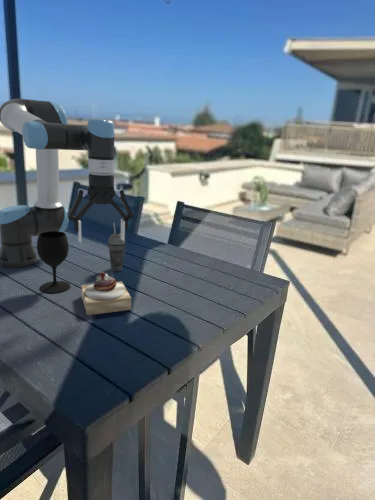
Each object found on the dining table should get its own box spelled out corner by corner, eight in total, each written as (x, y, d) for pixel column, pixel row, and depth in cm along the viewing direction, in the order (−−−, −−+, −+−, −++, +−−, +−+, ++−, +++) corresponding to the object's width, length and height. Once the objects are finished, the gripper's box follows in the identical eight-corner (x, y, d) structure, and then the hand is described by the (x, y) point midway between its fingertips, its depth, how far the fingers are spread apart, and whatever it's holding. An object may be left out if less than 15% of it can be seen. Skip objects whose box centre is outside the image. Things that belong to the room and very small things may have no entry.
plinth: (81, 296, 121) (81, 283, 120) (121, 292, 127) (121, 279, 125) (87, 315, 109) (86, 300, 108) (131, 309, 115) (131, 295, 113)
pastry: (92, 283, 120) (91, 269, 119) (114, 281, 123) (114, 267, 122) (95, 292, 113) (95, 278, 112) (118, 290, 116) (118, 276, 115)
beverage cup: (121, 273, 144) (121, 226, 138) (104, 270, 145) (104, 224, 139) (127, 267, 151) (128, 222, 145) (111, 265, 152) (111, 220, 146)
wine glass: (41, 295, 120) (37, 239, 114) (38, 284, 129) (34, 231, 123) (72, 291, 125) (70, 237, 119) (67, 280, 134) (65, 229, 128)
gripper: (58, 174, 98) (61, 246, 105) (144, 176, 108) (142, 241, 115) (56, 170, 105) (59, 238, 111) (138, 172, 114) (136, 235, 121)
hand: (101, 240), depth 113 cm, fingers open, 13 cm apart
